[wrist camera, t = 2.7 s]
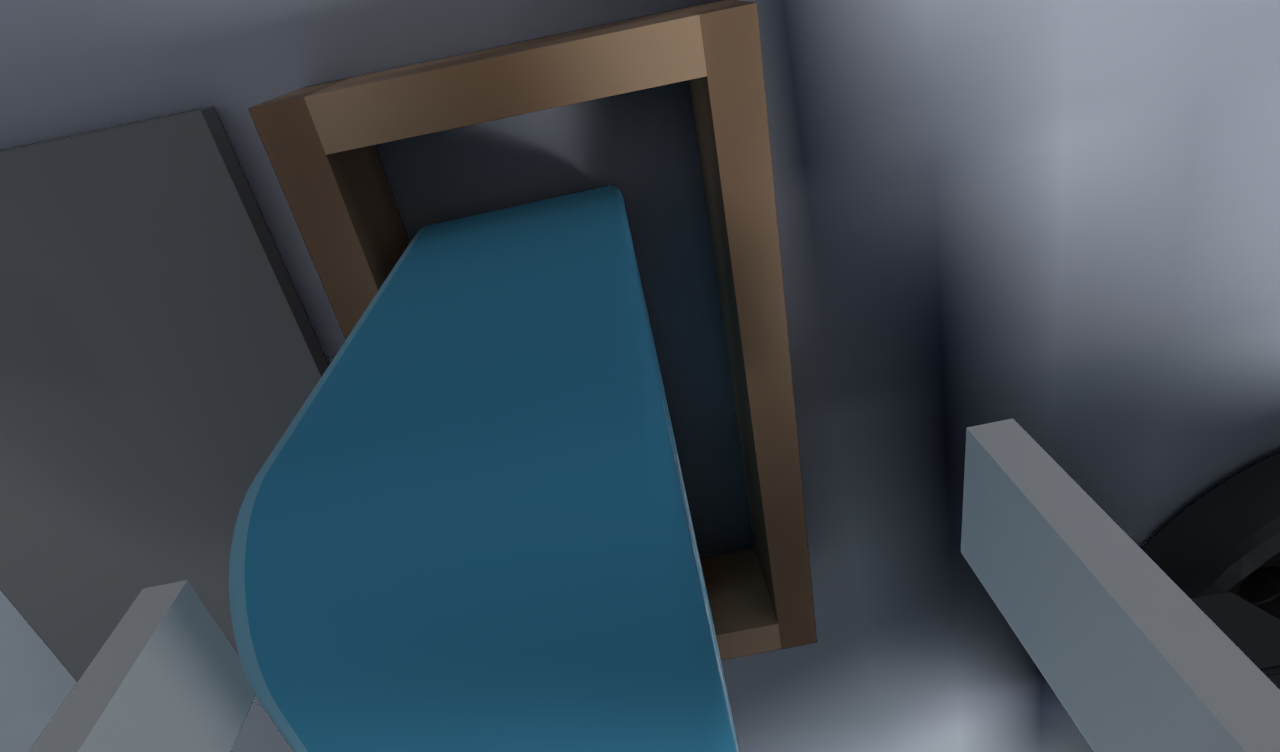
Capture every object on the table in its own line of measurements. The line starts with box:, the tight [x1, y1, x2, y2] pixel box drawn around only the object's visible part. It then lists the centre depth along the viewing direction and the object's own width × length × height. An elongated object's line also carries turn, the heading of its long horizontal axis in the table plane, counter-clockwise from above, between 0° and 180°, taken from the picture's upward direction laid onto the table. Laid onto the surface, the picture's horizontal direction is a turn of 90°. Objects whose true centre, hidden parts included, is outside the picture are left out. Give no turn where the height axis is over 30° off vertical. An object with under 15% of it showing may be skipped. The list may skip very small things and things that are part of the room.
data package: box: [229, 186, 740, 752], centre depth 14 cm, size 12×4×12 cm, turn 12°
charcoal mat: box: [0, 106, 329, 682], centre depth 19 cm, size 11×16×1 cm
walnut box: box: [248, 0, 817, 660], centre depth 18 cm, size 9×16×3 cm, turn 10°
